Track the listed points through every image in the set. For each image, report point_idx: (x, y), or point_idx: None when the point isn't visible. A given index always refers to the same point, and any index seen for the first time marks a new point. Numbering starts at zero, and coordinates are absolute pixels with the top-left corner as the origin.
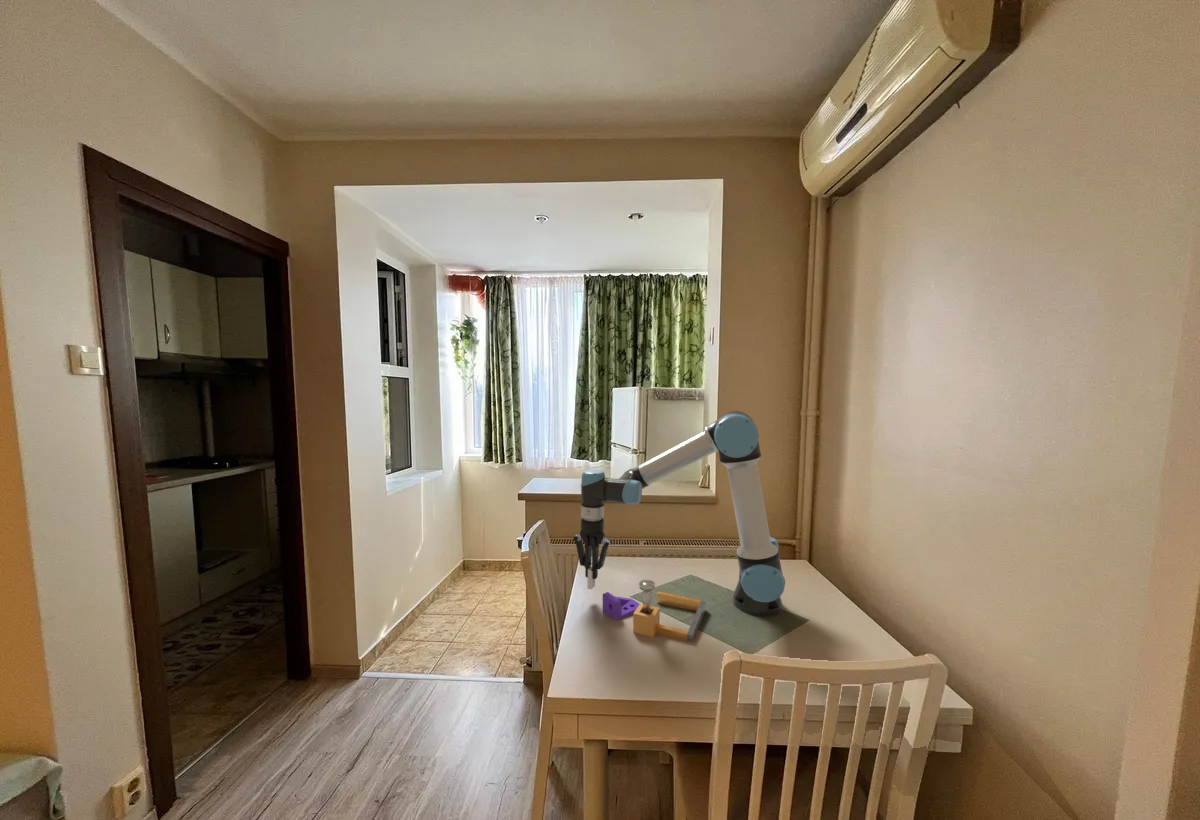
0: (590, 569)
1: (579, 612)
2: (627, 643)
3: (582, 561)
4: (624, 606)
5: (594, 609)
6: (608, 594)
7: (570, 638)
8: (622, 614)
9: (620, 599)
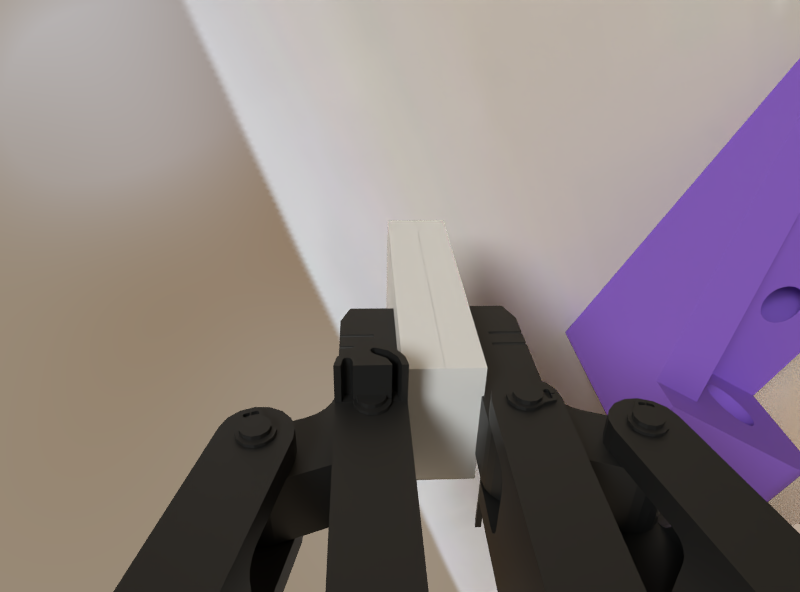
0: (440, 464)
1: None
2: None
3: (282, 585)
4: (771, 280)
5: (482, 303)
6: None
7: (457, 581)
8: (759, 385)
9: (756, 284)
